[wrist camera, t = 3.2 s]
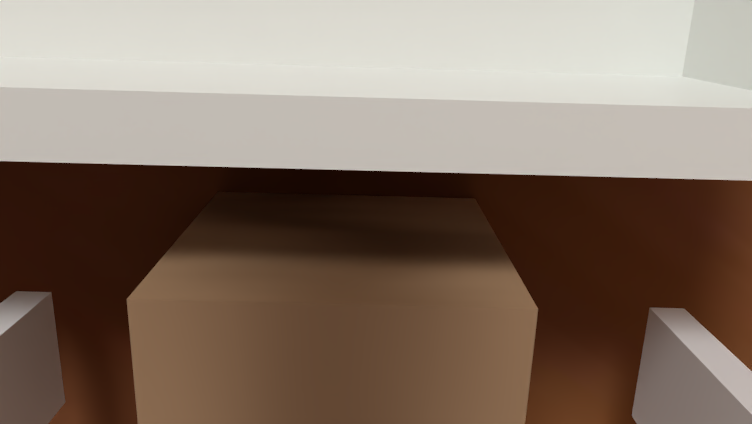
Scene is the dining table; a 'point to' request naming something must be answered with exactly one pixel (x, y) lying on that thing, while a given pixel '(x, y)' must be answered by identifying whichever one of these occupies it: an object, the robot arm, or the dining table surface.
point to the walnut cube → (333, 315)
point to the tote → (383, 85)
